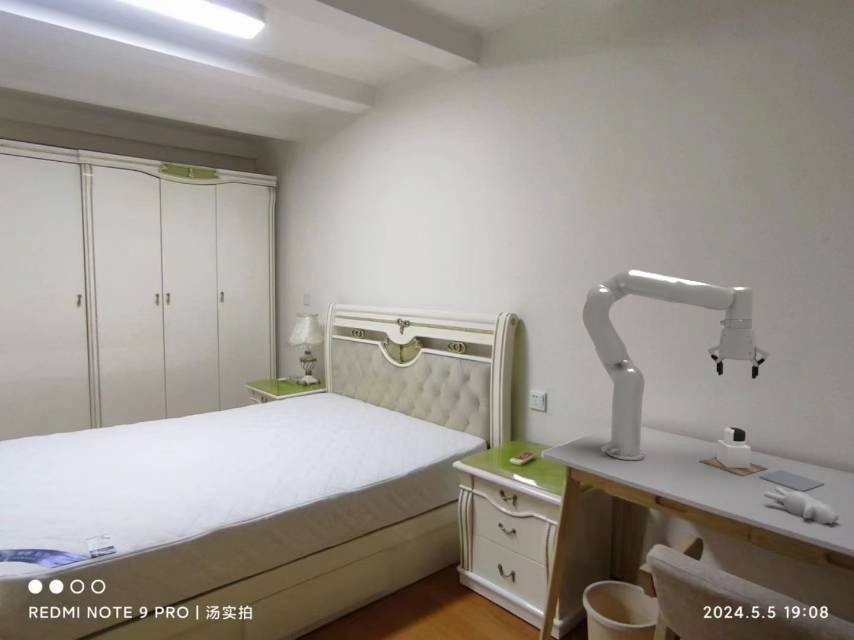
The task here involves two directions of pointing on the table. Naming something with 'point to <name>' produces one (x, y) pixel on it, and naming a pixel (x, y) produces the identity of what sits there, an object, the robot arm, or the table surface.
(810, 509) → the bunny figurine
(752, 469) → the tile
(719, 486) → the table surface
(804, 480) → the grey mat
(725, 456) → the medicine bottle
